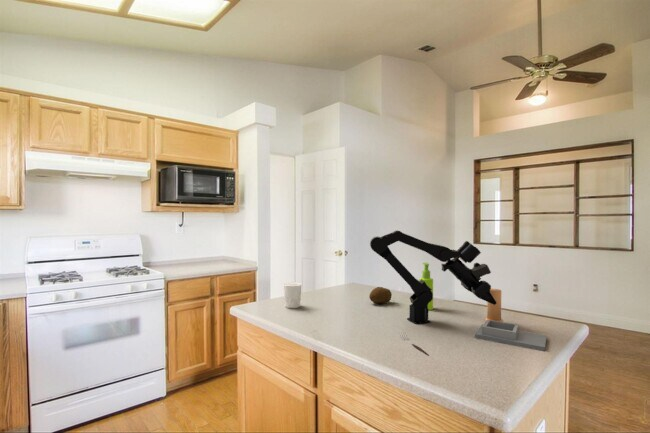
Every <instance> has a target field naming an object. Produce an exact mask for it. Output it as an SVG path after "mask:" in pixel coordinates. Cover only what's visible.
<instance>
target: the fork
mask: <svg viewBox="0 0 650 433" xmlns="http://www.w3.org/2000/svg"><path fill="white" fill-rule="evenodd" d="M398 335H399V336H400V338H401V340H402V342H407V341H410V339H409V337H408V335H407V334H406V332H404V333H403V332H401V333H400V332H399V334H398ZM409 344H410V345H411V346H413V348H414V349H416V350H418V351H419V352H422V353H423V354H424V355H426V356H428V357H429V356H430V354H429V353H428V352H426V351H425V350H423V349H422V348H421V347H420V346H418V345H416V344H414V343H412V342H409Z"/></svg>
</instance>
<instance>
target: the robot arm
mask: <svg viewBox="0 0 650 433" xmlns="http://www.w3.org/2000/svg"><path fill="white" fill-rule="evenodd" d="M398 242H400V243H403V244H405V245H408V246H410V247H413V248H415V249H418V250H420V251H423V252H424V253H427V254H428V255H429V256H431V257H433V258H435V259H437V260H439V261H440V262H442V263H441V271H443V272H444V273H445V272H446V271H447V270H448V271H449V272H451V274H452V275H453V276H454V277H455V278H456V279H457V280H458V281H459V282H460V285H461V286H462V288H464V289H465V290H467V291H468V292H471V293H472V294H473V295H474V296H475V297H477V298H478V299H481V300H482V301H485V302H486V303H487V302H489V303H491V304H494V305H495V304H496V303H497V302H496V301H495V299H494V298H493V296H492V295H491V293H490V289H492V285H491V284H490V283H489V282H487V281H486V280H482V278H481V277H483V276H486V275H490V274H491V273H492V271H491V270H490V267H489V265H488V264H486V263H479V262H475V263H473V267H472V268H470V267H468V266H466V264H467V263H469V264H471V263H472V262H473V261H474V260H476V258H477V257H478V256H479V255H481V253H482V252H481V251H480V250H479V248H478V247H476V246H474V245H473V244H472V243H470V241H468V240H465V241H464V242H463V244H462V245H461V246H460V247H459V248H458V249H451V248H449V247H447V246H444V245H441V244H437V243H431V242H426V241H424V240H422V239H419V238H417V237H414V236H411V235H409V234H407V233H404V232H402V231H400V230H395V231H392V232H390V233H387V234H385V235H382V236H374V237H372V238H371V239H370V242H369V246H370V248H371V250H372V251H373V252H375V253H376V254H378V256H380V257H382V259H384V260H385V261H386V262H387V263H388V264H389V265H390V266H391V267H392V268H393V269H394V271H396V273H397V274H398V275H399V276H400V277H401V278H402V279H403V280H404V281H405V283H407V285H408V286H409V287H410V289H411V290H412V291H413V294H412V295H410V296H409V300H410V303H411V304H409V317H407V318H406V320H408V321H409V322H412V323H413V324H416V325H420V324H429V323H431V320H429V310H428V303H429V302H431V300H432V299H433V300H434V292H433V293H432V292H431V291H430V290H432V289H431V288H430V287H429V286H428V285H426V283H425V282H424V281H423V280H422V279H421V280H420V281H419V279H417V278H416V277H415V276H413V274H412V273H411V272H410V271H409V270H408V269H407V268H406V266H405V265H403V263H402V262H401V261H400V260H399V259H398V258H397V257H396V256H395V255H394V254H393V252H392V251H391V249H390V247H389V246H390V245H392V244H395V243H398ZM464 263H465V264H464Z"/></svg>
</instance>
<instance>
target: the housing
mask: <svg viewBox="0 0 650 433" xmlns="http://www.w3.org/2000/svg"><path fill="white" fill-rule="evenodd" d="M474 338H476V339H480V340H486V341H490V342H494V343H500V344H506V345H512V346H517V347H522V348H526V349H532V350H538V351H544V352H545V351H546V346H547V345H546V344H547V334H542V333H535V332H529V331H523V330H520V324H518V323H512V322H506V321H503V322H500V321H494V320H488V319H487V321H486V322H484V323H483V324H481V325H480V326H479V328H477V330H476V332H475V333H474Z"/></svg>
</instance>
